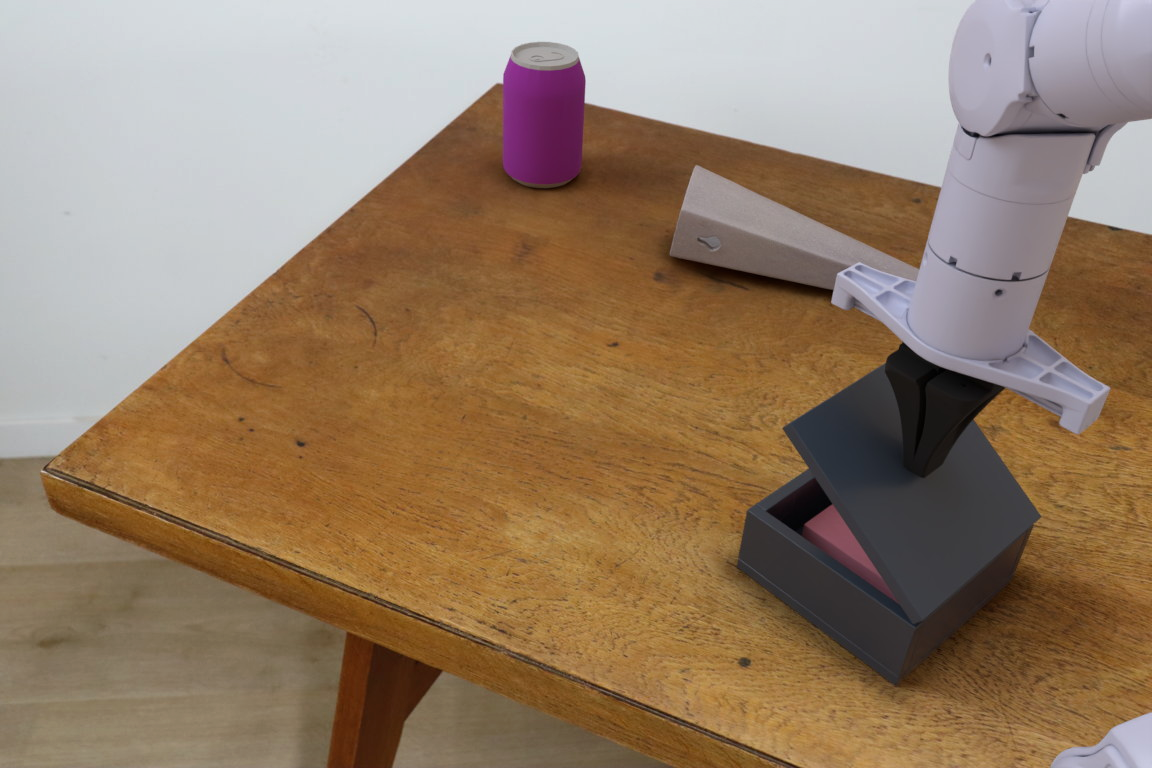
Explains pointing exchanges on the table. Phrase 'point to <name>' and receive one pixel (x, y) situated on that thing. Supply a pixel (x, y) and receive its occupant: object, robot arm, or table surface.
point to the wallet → (843, 546)
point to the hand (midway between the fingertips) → (922, 464)
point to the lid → (910, 494)
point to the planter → (767, 237)
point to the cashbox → (854, 584)
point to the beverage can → (543, 114)
